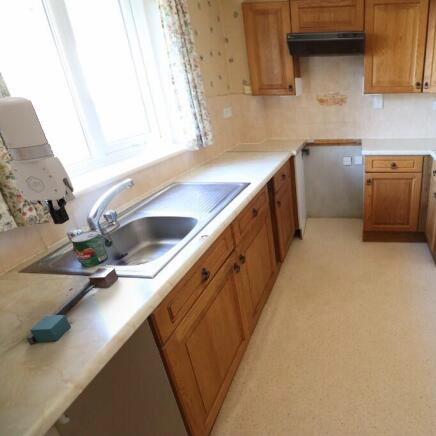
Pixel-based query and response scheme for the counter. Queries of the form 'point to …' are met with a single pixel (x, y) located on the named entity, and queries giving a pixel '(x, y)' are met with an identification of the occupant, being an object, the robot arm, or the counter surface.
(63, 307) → the rail
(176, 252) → the counter surface
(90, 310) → the counter surface
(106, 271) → the walnut block
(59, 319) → the teal block
